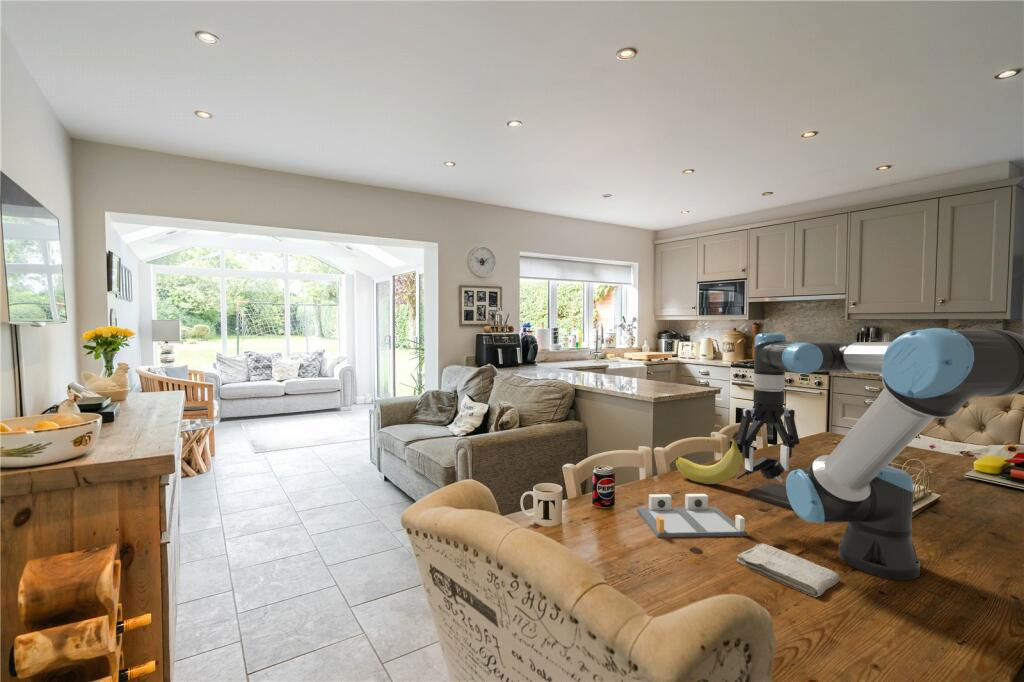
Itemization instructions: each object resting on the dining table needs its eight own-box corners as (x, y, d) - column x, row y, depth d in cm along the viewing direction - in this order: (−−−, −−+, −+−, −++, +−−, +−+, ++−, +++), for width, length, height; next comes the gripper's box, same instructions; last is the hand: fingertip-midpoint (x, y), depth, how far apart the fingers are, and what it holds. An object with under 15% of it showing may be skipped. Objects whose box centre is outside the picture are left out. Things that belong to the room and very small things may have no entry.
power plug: (731, 472, 136) (768, 450, 135) (747, 494, 136) (783, 472, 135) (739, 479, 130) (777, 455, 129) (755, 502, 130) (793, 478, 129)
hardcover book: (771, 488, 162) (771, 481, 162) (848, 511, 143) (849, 503, 143) (746, 497, 153) (746, 490, 153) (824, 523, 134) (825, 515, 134)
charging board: (747, 535, 125) (747, 517, 125) (657, 537, 124) (657, 518, 123) (716, 510, 142) (716, 493, 142) (637, 511, 141) (637, 494, 140)
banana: (671, 478, 171) (673, 423, 170) (678, 474, 175) (679, 420, 174) (738, 493, 155) (739, 433, 155) (743, 489, 160) (745, 430, 159)
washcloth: (759, 550, 118) (759, 538, 118) (842, 583, 103) (842, 569, 103) (733, 564, 111) (733, 552, 111) (818, 602, 96) (819, 587, 96)
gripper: (798, 387, 135) (796, 465, 136) (722, 387, 134) (721, 465, 135) (816, 391, 128) (814, 473, 128) (736, 391, 126) (734, 474, 127)
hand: (766, 469), depth 132 cm, fingers closed on power plug, 9 cm apart
